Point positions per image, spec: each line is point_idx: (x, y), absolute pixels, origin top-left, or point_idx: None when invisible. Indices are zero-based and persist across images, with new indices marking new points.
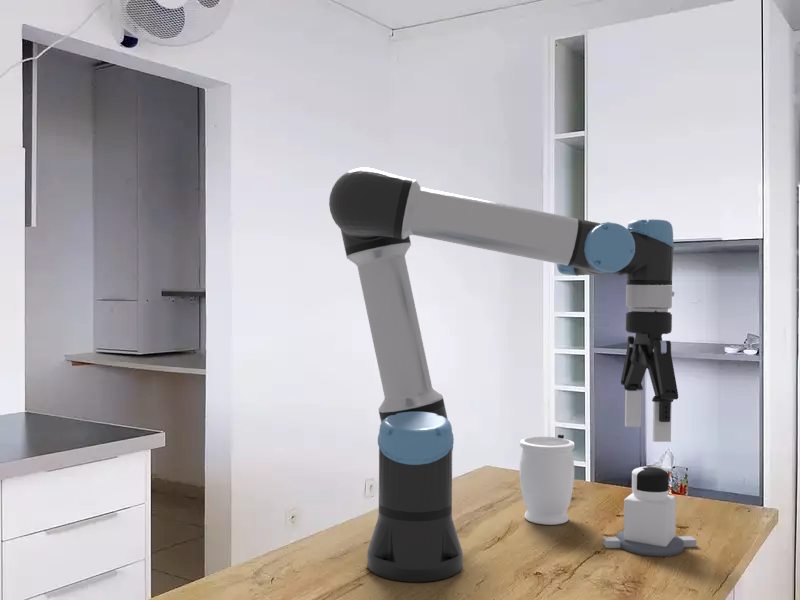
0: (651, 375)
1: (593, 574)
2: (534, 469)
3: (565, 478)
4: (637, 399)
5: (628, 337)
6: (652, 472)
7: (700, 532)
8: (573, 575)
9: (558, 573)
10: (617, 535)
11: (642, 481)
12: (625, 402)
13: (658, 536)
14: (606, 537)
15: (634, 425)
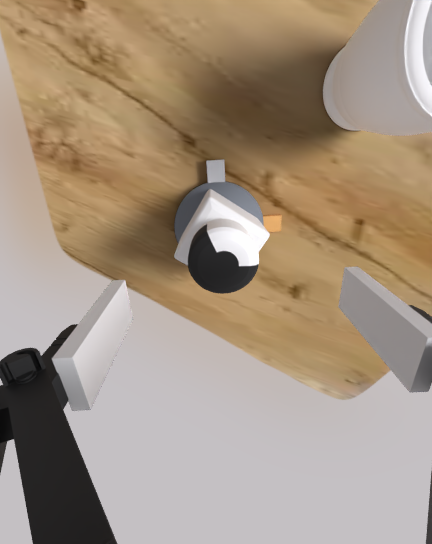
0: (56, 484)
1: (91, 108)
2: None
3: (356, 99)
4: (390, 352)
5: None
6: (197, 261)
7: (271, 304)
8: (80, 71)
9: (84, 45)
10: (233, 185)
11: (196, 236)
12: (404, 305)
13: (183, 233)
14: (223, 165)
15: (343, 292)
